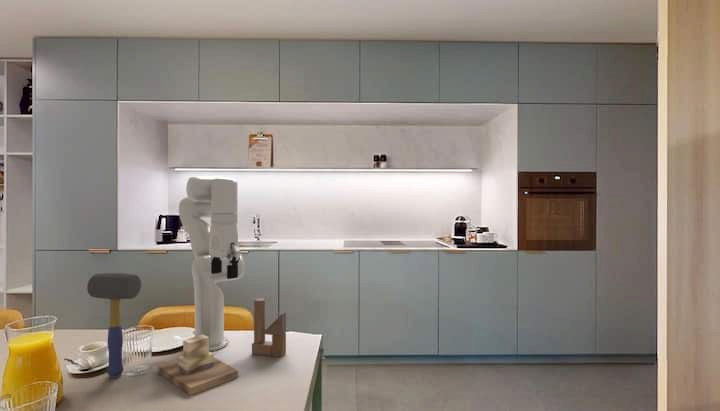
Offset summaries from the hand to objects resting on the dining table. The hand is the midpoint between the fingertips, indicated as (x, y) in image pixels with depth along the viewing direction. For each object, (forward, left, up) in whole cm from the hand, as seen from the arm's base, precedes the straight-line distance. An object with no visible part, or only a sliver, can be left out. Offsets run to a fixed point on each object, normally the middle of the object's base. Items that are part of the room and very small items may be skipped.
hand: (224, 275), depth 118 cm
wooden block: (+1, +16, -29) cm, 33 cm away
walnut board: (-2, -7, -28) cm, 29 cm away
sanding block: (-2, -8, -26) cm, 27 cm away
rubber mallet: (-19, -23, -29) cm, 41 cm away
